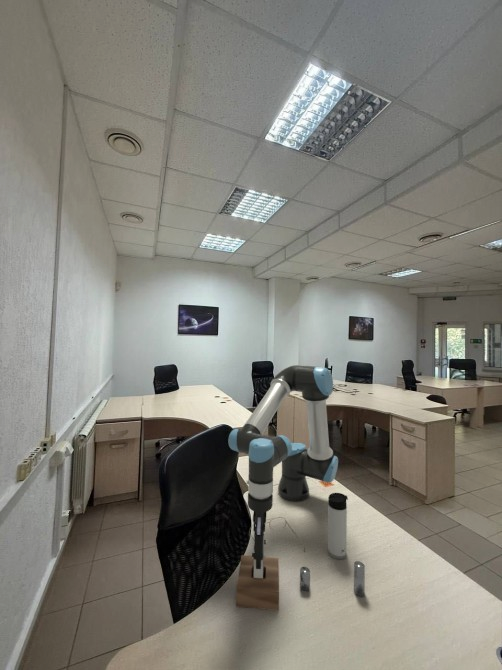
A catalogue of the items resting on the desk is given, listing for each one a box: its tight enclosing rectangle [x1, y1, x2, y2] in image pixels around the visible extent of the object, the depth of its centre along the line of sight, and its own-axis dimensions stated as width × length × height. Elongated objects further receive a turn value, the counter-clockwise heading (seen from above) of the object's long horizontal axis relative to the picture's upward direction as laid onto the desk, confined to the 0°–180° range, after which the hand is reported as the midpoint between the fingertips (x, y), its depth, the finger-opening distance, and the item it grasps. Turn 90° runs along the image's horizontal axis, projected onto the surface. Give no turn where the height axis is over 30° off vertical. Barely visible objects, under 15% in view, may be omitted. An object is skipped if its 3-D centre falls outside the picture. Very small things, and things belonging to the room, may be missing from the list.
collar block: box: [235, 554, 280, 611], centre depth 83 cm, size 12×12×5 cm
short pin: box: [299, 566, 311, 593], centre depth 84 cm, size 3×3×5 cm
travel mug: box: [327, 492, 349, 560], centre depth 98 cm, size 6×7×20 cm
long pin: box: [261, 532, 265, 579], centre depth 83 cm, size 3×3×13 cm
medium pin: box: [353, 560, 366, 598], centre depth 82 cm, size 3×3×8 cm
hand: (258, 572), depth 83 cm, fingers closed on long pin, 3 cm apart
